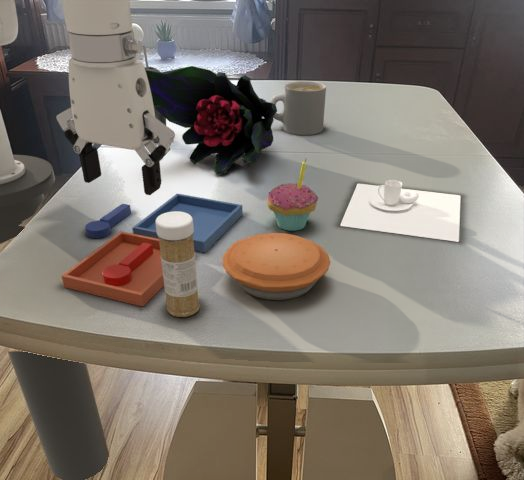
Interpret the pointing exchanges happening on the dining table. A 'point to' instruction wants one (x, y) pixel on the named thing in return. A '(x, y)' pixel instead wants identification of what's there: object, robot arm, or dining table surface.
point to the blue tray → (195, 218)
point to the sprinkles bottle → (178, 262)
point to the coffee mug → (302, 107)
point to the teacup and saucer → (404, 211)
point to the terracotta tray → (112, 252)
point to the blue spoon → (107, 222)
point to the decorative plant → (214, 113)
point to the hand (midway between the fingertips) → (122, 185)
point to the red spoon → (127, 266)
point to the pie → (276, 265)
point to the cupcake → (292, 203)
